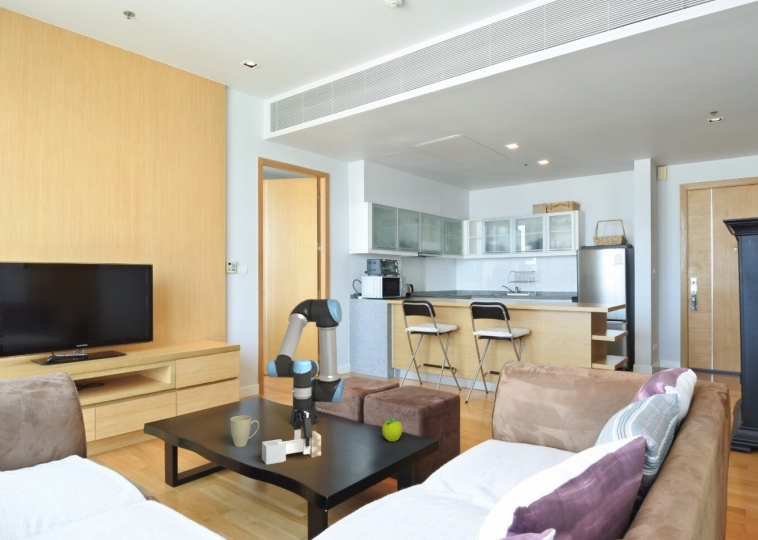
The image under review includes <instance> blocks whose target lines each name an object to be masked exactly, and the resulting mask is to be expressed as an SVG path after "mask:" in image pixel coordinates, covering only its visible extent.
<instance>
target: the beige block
mask: <svg viewBox="0 0 758 540" xmlns="http://www.w3.org/2000/svg"><path fill="white" fill-rule="evenodd" d="M310 439H311V450H310V454H308V455H309V456H310V457H311V458H315V457H321V456H322V435H321V434H320V433H318V432H317V431H316V430H312V438H310Z"/></svg>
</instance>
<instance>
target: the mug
mask: <svg viewBox="0 0 758 540" xmlns="http://www.w3.org/2000/svg"><path fill="white" fill-rule="evenodd" d="M229 420H230V421H229V422H230V432H231V437H232V441H233V443H234V447H237V448H243V447H245V446H247V444H248V441H249V439H251V438H252V437H253V436H255V435H256V434H257V432H258V430H259V429H260V422H259V421H258V420H256V419H253V420H252V417H251V416H250V415H245V414H244V415H236V416H235V415H234V416H232V417H230V419H229ZM254 423H257V427H256V430H255V431H254V432H253V433H252V434H251V429H252V428H251V426H252V425H253V424H254ZM250 434H251V435H250Z"/></svg>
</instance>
